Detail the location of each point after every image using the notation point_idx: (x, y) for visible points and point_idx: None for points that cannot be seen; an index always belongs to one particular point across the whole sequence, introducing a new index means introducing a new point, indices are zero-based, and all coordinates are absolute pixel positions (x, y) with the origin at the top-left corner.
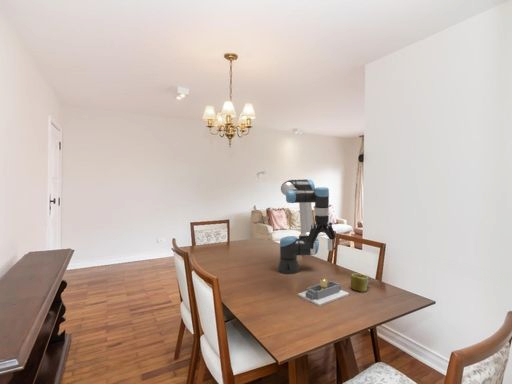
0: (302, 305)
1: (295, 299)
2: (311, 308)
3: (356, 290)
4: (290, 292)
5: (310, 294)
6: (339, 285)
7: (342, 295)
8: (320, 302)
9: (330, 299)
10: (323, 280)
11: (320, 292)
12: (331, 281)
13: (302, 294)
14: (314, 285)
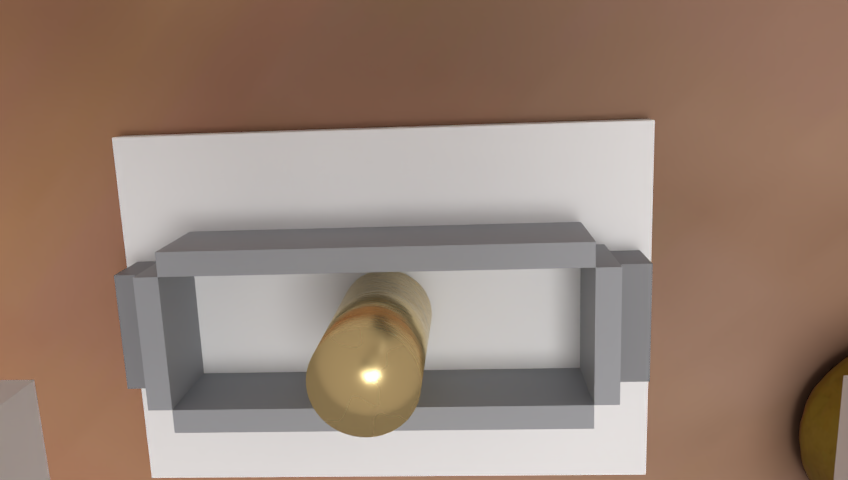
0: (17, 358)
1: (31, 206)
2: (59, 454)
3: (801, 457)
4: (88, 9)
5: (127, 353)
6: (592, 425)
7: (529, 469)
8: (189, 453)
9: (333, 464)
10: (323, 416)
11: (228, 426)
12: (608, 278)
13: (144, 189)
14: (290, 250)
